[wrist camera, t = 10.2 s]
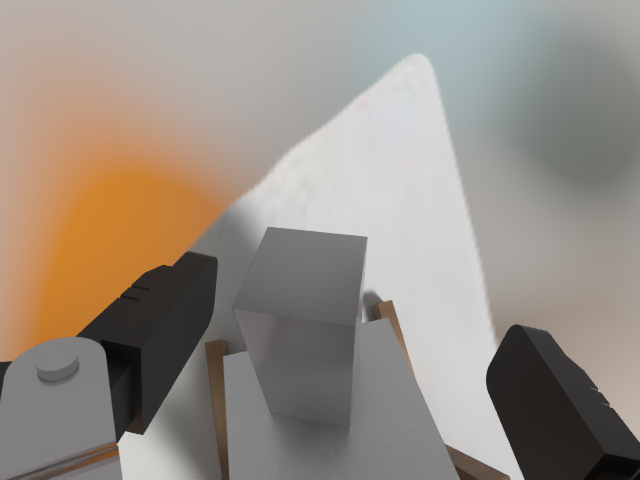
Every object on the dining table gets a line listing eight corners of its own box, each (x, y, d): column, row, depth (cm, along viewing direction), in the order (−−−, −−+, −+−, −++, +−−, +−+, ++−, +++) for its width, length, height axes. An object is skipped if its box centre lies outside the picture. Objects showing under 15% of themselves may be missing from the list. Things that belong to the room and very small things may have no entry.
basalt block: (359, 351, 23) (367, 236, 16) (349, 427, 19) (355, 326, 12) (289, 341, 23) (267, 226, 16) (270, 412, 20) (232, 308, 13)
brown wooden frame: (459, 556, 25) (587, 701, 14) (248, 629, 23) (207, 866, 12) (385, 304, 30) (437, 269, 20) (210, 344, 28) (159, 330, 17)
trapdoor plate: (513, 650, 15) (539, 657, 13) (258, 750, 14) (244, 775, 12) (384, 339, 26) (387, 317, 24) (232, 377, 25) (223, 356, 23)
